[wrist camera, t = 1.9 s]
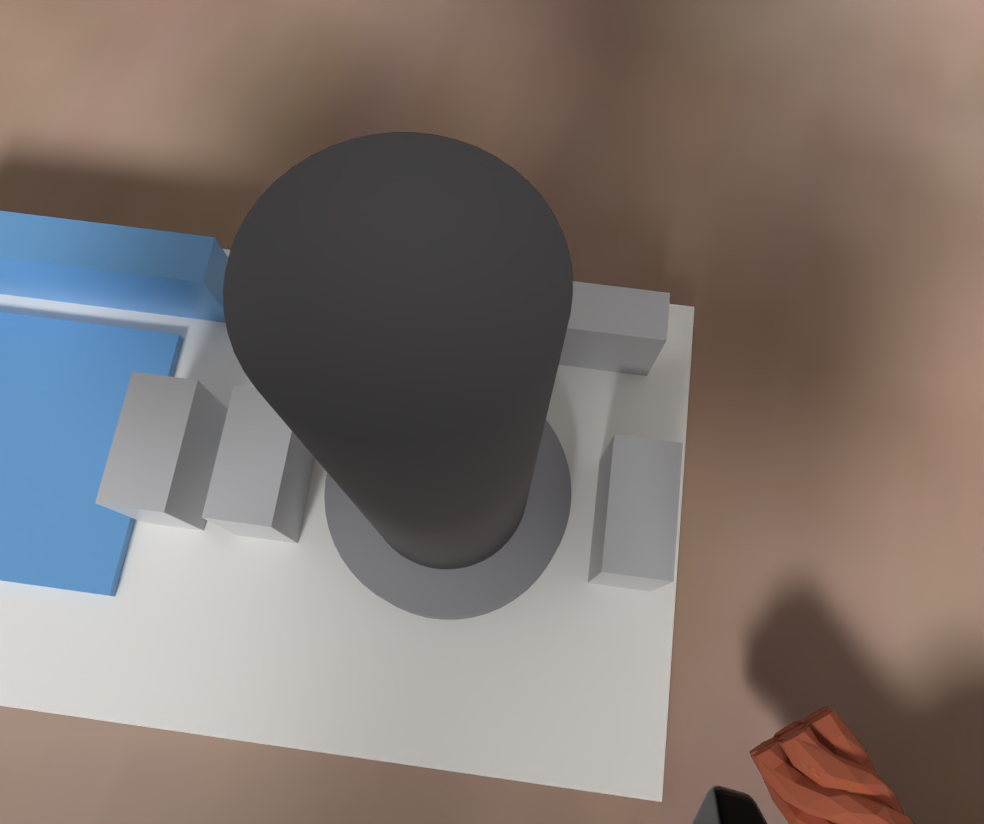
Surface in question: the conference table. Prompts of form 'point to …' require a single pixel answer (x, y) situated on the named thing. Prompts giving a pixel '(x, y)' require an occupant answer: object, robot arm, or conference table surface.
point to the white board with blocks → (312, 536)
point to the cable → (825, 775)
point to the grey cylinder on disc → (414, 360)
